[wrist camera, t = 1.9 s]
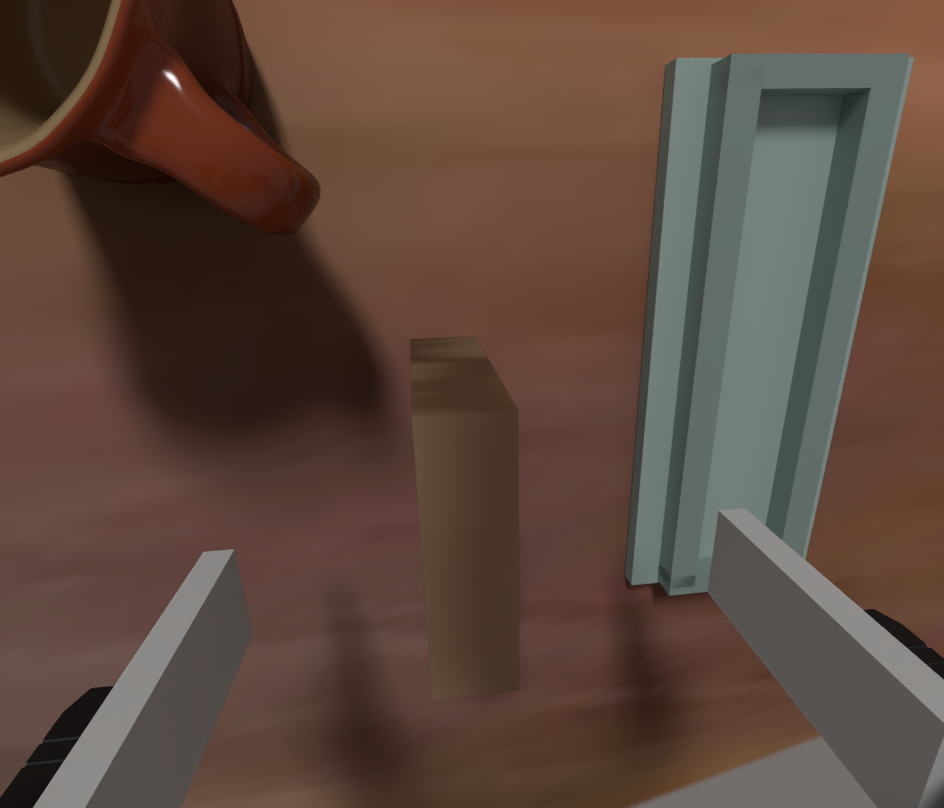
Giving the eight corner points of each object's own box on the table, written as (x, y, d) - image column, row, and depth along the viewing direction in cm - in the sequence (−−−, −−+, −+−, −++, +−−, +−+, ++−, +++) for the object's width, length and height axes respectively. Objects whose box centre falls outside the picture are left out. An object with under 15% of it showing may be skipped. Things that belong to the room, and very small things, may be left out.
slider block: (424, 531, 24) (432, 700, 15) (410, 339, 21) (411, 417, 12) (480, 526, 24) (518, 689, 16) (474, 335, 21) (518, 410, 13)
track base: (624, 574, 26) (641, 602, 24) (665, 64, 19) (694, 46, 17) (792, 557, 27) (821, 582, 25) (894, 64, 19) (946, 46, 18)
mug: (-56, 83, 16) (-716, -119, 7) (75, -186, 15) (-551, -956, 5) (278, 313, 20) (155, 397, 10) (414, 117, 18) (420, -5, 9)
